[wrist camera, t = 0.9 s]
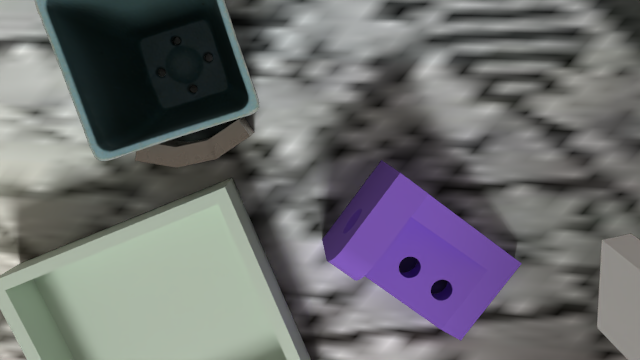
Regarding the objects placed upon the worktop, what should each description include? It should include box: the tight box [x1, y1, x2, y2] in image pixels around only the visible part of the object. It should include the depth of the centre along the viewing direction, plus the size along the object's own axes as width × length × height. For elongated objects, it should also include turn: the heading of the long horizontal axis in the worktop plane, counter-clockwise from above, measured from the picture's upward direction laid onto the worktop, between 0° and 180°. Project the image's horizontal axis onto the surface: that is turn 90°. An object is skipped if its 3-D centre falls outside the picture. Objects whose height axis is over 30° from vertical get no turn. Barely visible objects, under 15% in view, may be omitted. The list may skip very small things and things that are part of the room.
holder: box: [135, 118, 254, 168], centre depth 33 cm, size 12×7×4 cm, turn 12°
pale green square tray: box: [0, 178, 311, 360], centre depth 36 cm, size 16×16×4 cm
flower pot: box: [34, 0, 259, 161], centre depth 31 cm, size 9×9×9 cm
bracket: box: [322, 160, 521, 340], centre depth 35 cm, size 12×7×7 cm, turn 54°
